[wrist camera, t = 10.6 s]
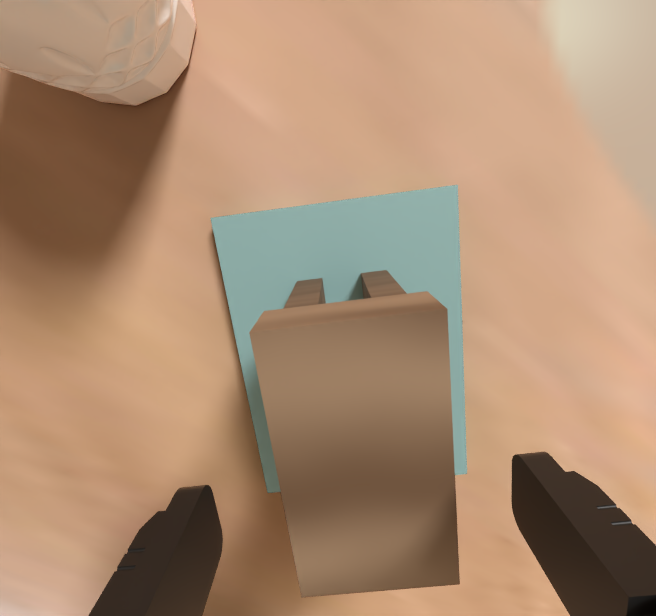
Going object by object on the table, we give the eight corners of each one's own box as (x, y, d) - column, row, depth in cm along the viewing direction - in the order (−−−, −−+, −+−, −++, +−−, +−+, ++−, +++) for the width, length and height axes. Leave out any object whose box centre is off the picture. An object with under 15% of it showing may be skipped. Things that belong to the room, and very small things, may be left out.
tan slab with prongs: (287, 275, 17) (248, 332, 9) (394, 262, 17) (447, 308, 9) (314, 441, 19) (301, 597, 12) (408, 431, 19) (459, 584, 11)
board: (270, 480, 21) (267, 493, 20) (217, 217, 17) (210, 218, 16) (460, 461, 21) (467, 473, 20) (450, 186, 17) (457, 184, 16)
